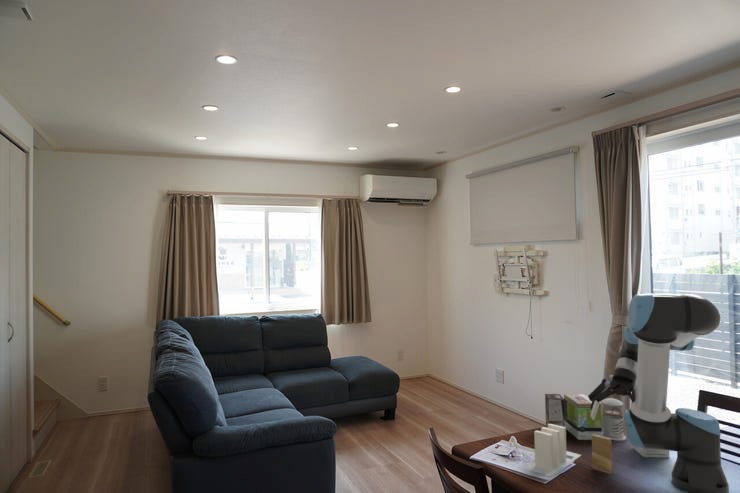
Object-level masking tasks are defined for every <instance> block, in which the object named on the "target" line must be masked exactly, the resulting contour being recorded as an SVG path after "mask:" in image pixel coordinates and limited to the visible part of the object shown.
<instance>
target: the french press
mask: <svg viewBox="0 0 740 493" xmlns="http://www.w3.org/2000/svg"><path fill="white" fill-rule="evenodd" d="M613 375H614V374H610V375H608V378H609V379H611V380H610V382H611V381H612V379H613ZM600 402H601V404H603V405H605V406H609V407H611V409H604V410H602V413H601V425H602V427H601V430H602V436H603V437H607V438H611V439H612V441H624V440H627V436H626V435H625V434H624V422H625V417H624V415H623V409H624V411H625V410H626V409H625V406H624V402H622V401H621V400H619V399H617V398H613V397H610V398H608V397H607V398H605V399H604V400H602V401H600ZM613 407H616V408H617V409H620V411H619V410H616V409H615V410H614V409H613ZM606 416H607V417H606Z"/></svg>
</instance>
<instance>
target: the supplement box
mask: <svg viewBox="0 0 740 493" xmlns="http://www.w3.org/2000/svg"><path fill="white" fill-rule="evenodd" d="M632 449H634V451H636V452H637V453H638V454H640V455H641V456H642V457H643V458H667V459H668V458H670V451H669V450H659V449H649V448H646V449H644V448H640V447H635V446H633V445H632Z"/></svg>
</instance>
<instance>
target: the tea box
mask: <svg viewBox="0 0 740 493" xmlns="http://www.w3.org/2000/svg"><path fill="white" fill-rule="evenodd" d="M563 399H564V411H565V427H566V431H568V432H569V433H570V434H571V435H573V437H575V438H576V439H577V440H580V441H592V435H593V434H595V435H599V436H602V431H603V430H602V428H603V427H602V425H603V424H602V403H600V402H599V403H598V404H599V407H598V410H597V414H596V417H595V420H592V418H591V416H590V415H591V411H592V410H591V403H592V401H590V399H589V398H588V395H587V394H582V393H581V394H579V393H578V394H574V393H573V394H572V393H570V394H569V393H568V394H566V393H565V394H563Z"/></svg>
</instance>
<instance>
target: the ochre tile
mask: <svg viewBox="0 0 740 493" xmlns="http://www.w3.org/2000/svg"><path fill="white" fill-rule="evenodd" d="M612 441H613V440H612V439H611V438H607V437H603V436H599V435H595V434H593V435H592V440H591V462H592V466H591V467H592V470H596V471H598V472H603V473H605V474H609V475H612V473H613V444H612Z"/></svg>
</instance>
